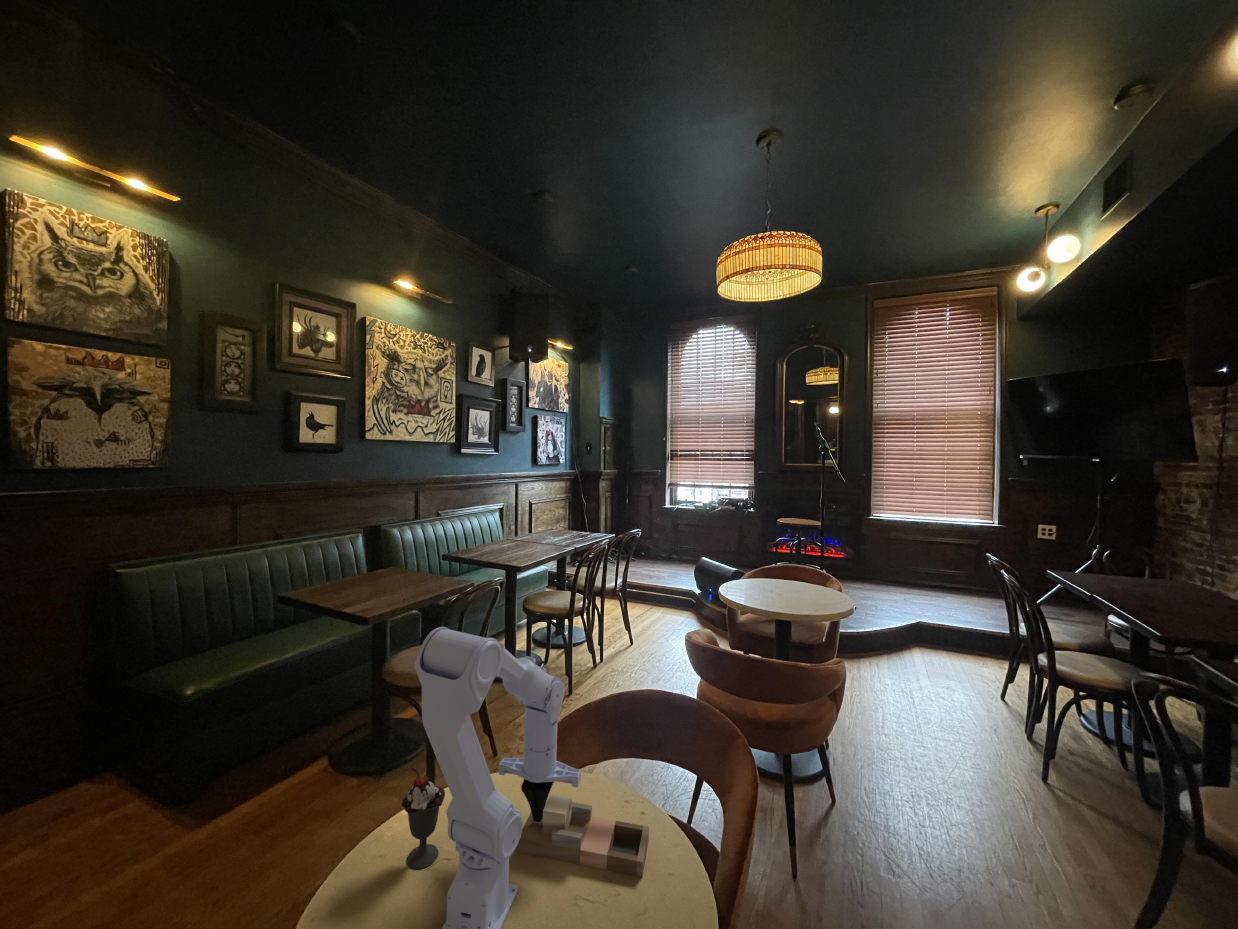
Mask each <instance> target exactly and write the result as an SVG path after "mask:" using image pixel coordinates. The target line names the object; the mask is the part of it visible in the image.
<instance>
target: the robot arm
mask: <svg viewBox="0 0 1238 929" xmlns="http://www.w3.org/2000/svg"><path fill="white" fill-rule="evenodd" d="M536 662H537V661H536V658H535V657H532V656H527V655H526V656H524V657H518V658H517V657H515V656H514V655H513V654H512V653H511V652H509V650H507V649H506V647H505V643H504V642H501V641H499V640H497V639H496V638H494V637H484V636H479V635H475V634H472V633H467V632H462V631H458V630H453V629H450V628H448V627H446V626H439V627H436V628H434V629H433V630H431V631H430V632H429V633H428V634H427V636H426V637H425V638H424V640H423V642H422V644H421V645H420V649H419V651H418V654H417V657H416V659H415V661H414V664H413V666H414V670H415V672H416V675H417V677H418V680H419V682H420V685H421V719H422V720H421V721H422V724H423V729H424V731H425V733H426V735H427V737H428V740H429V742H430V743H429V744H430V745H431V748H432V749H433V752H434V755H435V757H436V760H437V762H438V765H439V768H440V770H441V772H442V775H443V777H444V780H445V782H446V785H447V787H448V789H449V792H450V794H451V797H452V799H451V801H450V802H449V804H448V807H447V809H446V811H445V814H446V816H447V835H448V838H449V839H450V840H451V841H452V842H454V843H455V851H456V852H457V853H458V855H459V860H458V866H457V870H456V874H455V877H454V878H453V880H452V882H451V885H450V886H449V888H448V891H447V895H446V920H445V922H444V924H443V926H442V927H441V929H502V927H503V925H504V922H505V920H506V918H507V916H508V913H509V911H510V908H511V906H512V905H513V902H514V900H515V898H516V896H517V893H518V891H519V886H518V885H517V884H513V883H510V880H509V878H510V857H511V856H512V855H513V853H514V852H515V850H516V848H518V842H519V840H520V837H521V833H522V829H523V827H524V824H523V822H524V821H523V814H522V813H521V810H519V809H516V808H515V807H514V804H513V803H512V801H510V799H508V797H506V796H504V795H503V794H502V793H501V792H500V791H499V790H498V789H496V786H495V783H494V781H493V778H492V776H491V772H490V770H489V767H488V764H487V761H486V758H485V756H484V753H483V749H482V746H481V744H480V741H479V738H478V735H477V732H476V729H475V727H474V724H473V720H472V718H471V715H472V714H474V713H477V712H478V711H480V709H481V706H482V704H483V702H484V700H485V698H486V697H487V695H488V692H489V690H490V688H491V687H492V684H493V683H494V680H495V678H501V679H502V685H503V688H504V689H505V691H506V692H507V693H509V694H510V695H512V696H513V697H515V698H517V701H518V704H519V706H521V705H524V732H523V733H524V735H523V736H524V737H523V740H524V741H523V757H503V758H502V759H501V761H500V762H499V764H498V775H499V776H505V775H507V774H509V775H515V776H518V777H520V778H521V779H522V780H523V782H522V783H521V787H520V788H521V792H522V793H523V795H524V796H525V799H526V800H527V803H528V805H529V808H530V813H531V812H532V817H533V821H535V822H541V819H542V817H543V809H544V807H545V805H546V803H547V801H548V799H549V796H550V792H551V790H552V787H553V785H554V783H555V782H556V783H557V782H558V783H559V782H560V783H563V784H570V785H571V786H572V787H573V788H578V787H579V785H580V783H581V780H582V775H581V774H582V769H578V768H575V767H572V766H570V765H567V764H566V763H563V762H561V761H558V760H557V755H558V754H557V752H558V751H557V750H558V747H557V746H558V745H557V744H558V743H557V742H558V719H559V718H560V716H561V713H562V704H563V701H564V697H565V692H566V687H565V685H564V682H563V681H562V680H561V678H560V677H559V676H555V675H551V674H549V673H547V668H545V667H544V666H539V665H537V664H536Z"/></svg>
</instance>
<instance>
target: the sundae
mask: <svg viewBox="0 0 1238 929" xmlns="http://www.w3.org/2000/svg"><path fill="white" fill-rule="evenodd" d="M411 770H412V771H414V772H415V773H416V775H417V777H416V778H415V779H414V780H413V782H412V784H413V785H412V786H411V788H410V789H409V790H408V793H407V794H406V795H405V796H404V797H403V798H402V802H401V807H403V809H404V811H405V812H406V813H407V817H408V826H409V831H410V833H411V836H412V837H413V838H415V839H416V840H419V844H418V846H416V847H415V848H413V849H412V850H411V851H410V852H409V854H408V855H407V857H406V864H407V866H408V867H409V868H410V869H413V870H414V869H415V870H421V869H425V868H427V867H429V866H431V865H432V864H434V863H435V861H436V860H437V859H438V857H439V849H438V847H437V846H436V845H434V844H432V843H431V844H430V843H428V838H429V837H430V836H431V835H432V834H433V833H434V832H435V830H436V827H437V823H438V818H439V811H440V807H441V806H442V804H443V802H444V800H445V797H446V791H445V789H444V788H443V787H441V786H439V785H435V784H434V783H433V782H432V781H430V780H428V779H423V778H421V777H420V773H419V772H418V770H416V767H411Z"/></svg>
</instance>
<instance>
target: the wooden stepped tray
mask: <svg viewBox="0 0 1238 929" xmlns="http://www.w3.org/2000/svg"><path fill="white" fill-rule="evenodd" d="M592 813H593V806H592V805H590V804H586V803H585V804H584V803H578V802H574V801H572V809H571V822H570V824H569V827H568V830H567V831H566V830H561V829H556V828H554V829H553V831H552V835H550V834H544V833H542V828H543V817H542V819H541V822H535V821H533V817H532V812H531V811H530V813H529V815H528V817H527V819H526V821H525V822H524V824H523V827H522V833H521V837H520V840H519V842H518V845H517V853H519V854H520V853H521V854H525V855H530V856H536V857H540V858H545V859H550V860H555V861H561V862H565V863H571V864H574V865H575V864H576V865H580V866H586V867H589V868H590V867H591V868H595V869H599V870H605V871H610V872H614V873H615V872H616V873H621V874H625V875H631V876H635V877H640V878H643V876H644V870H645V864H646V857H647V852H648V846H649V841H650V826H646V825H642V824H641V825H640V824H636V823H631V822H630V823H629V822H625V821H619V820H614V819H607V818H603V817H597V816H593V814H592Z"/></svg>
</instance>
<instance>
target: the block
mask: <svg viewBox="0 0 1238 929" xmlns="http://www.w3.org/2000/svg"><path fill="white" fill-rule="evenodd" d="M572 802H573V798H572V797H568V796H561V795H555V794H549V796H548V798H547V801H546V805H545V807H544V809H543V828H542V833H544V834H550V835H552V831H553V829H554V828H556V829H561V830H566V831H567V830H568V827H569V824H570V822H571V809H572Z"/></svg>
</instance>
